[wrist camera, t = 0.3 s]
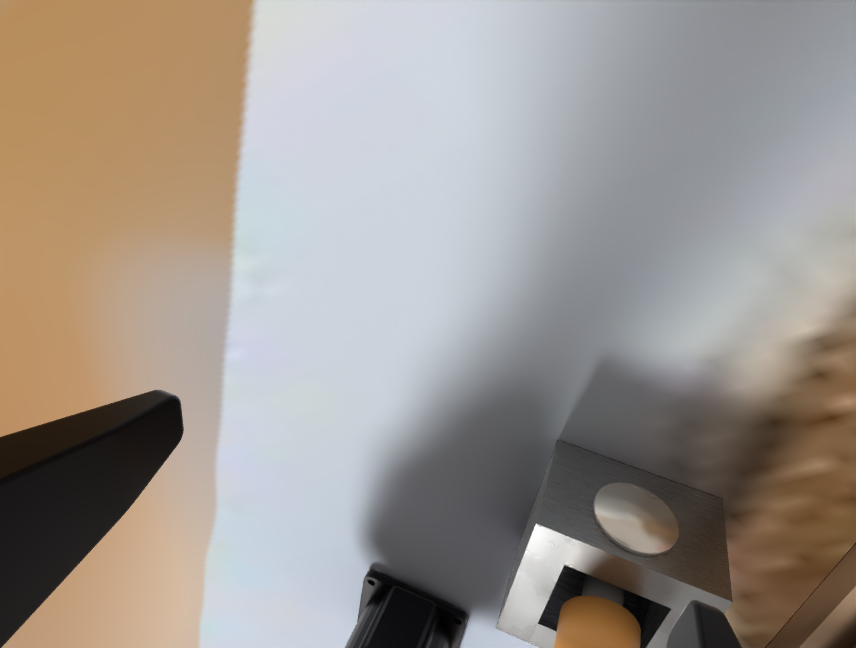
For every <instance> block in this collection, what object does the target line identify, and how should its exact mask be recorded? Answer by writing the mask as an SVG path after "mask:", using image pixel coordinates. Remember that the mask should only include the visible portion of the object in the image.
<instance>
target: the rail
mask: <svg viewBox="0 0 856 648" xmlns="http://www.w3.org/2000/svg"><path fill="white" fill-rule="evenodd" d="M855 645H856V544H855V545H854V546H853V547H852V549H851V550H850V551H849V552H848V553H847V554H846V556H845V557H844V558H843V559H842V560H841V561H840V562H839V564H838V565H837V566H836V567H835V568H834V569H833V571H832V572H831V573H830V574H829V575H828V576H827V577H826V579H825V580H824V581H823V582H822V583H821V584H820V586H819V587H818V588H817V589H816V590H815V591H814V593H813V594H812V595H811V596H810V597H809V598H808V599H807V601H806V602H805V603H804V604H803V605H802V606H801V608H800V609H799V610H798V611H797V612H796V613H795V614H794V616H793V617H792V618H791V619H790V620H789V621H788V623H787V624H786V625H785V626H784V627H783V628H782V629H781V631H780V632H779V633H778V634H777V635H776V636H775V638H774V639H773V640H772V641H771V642H770V643H769V645H768V646H767V647H766V648H853V647H854V646H855Z"/></svg>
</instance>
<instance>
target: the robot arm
mask: <svg viewBox="0 0 856 648" xmlns="http://www.w3.org/2000/svg"><path fill="white" fill-rule="evenodd" d="M183 431H184V427H183V418H182V409H181V402H180V399H179V398H178V397H177V396H175V395H173V394H170V393H168V392H165V391H162V390H154V391H150V392H147V393H144V394H140V395H137V396H134V397H130V398H127V399H124V400H121V401H117V402H114V403H111V404H108V405H104V406H101V407H98V408H94V409H91V410H88V411H84V412H81V413H78V414H75V415H71V416H68V417H65V418H61V419H58V420H55V421H52V422H48V423H45V424H42V425H38V426H35V427H32V428H29V429H26V430H22V431H19V432H16V433H12V434H9V435H5V436H2V437H0V648H2V646H3V645H4V644H5V643H6V642H7V641H8V640H9V639H10V638H11V637H12V636H13V634H14V633H15V632H16V631H17V630H18V629H19V628H20V627H21V626H22V625H23V624H24V623H25V621H26V620H27V619H28V618H29V617H30V616H31V615H32V614H33V613H34V612H35V611H36V610H37V608H38V607H39V606H40V605H41V604H42V603H43V602H44V601H45V600H46V599H47V598H48V596H49V595H50V594H51V593H52V592H53V591H54V590H55V589H56V588H57V587H58V586H59V585H60V584H61V582H62V581H63V580H64V579H65V578H66V577H67V576H68V575H69V574H70V573H71V572H72V570H73V569H74V568H75V567H76V566H77V565H78V564H79V563H80V562H81V561H82V560H83V558H84V557H85V556H86V555H87V554H88V553H89V552H90V551H91V550H92V549H93V548H94V547H95V545H96V544H97V543H98V542H99V541H100V540H101V539H102V538H103V537H104V536H105V535H106V533H107V532H108V531H109V530H110V529H111V528H112V527H113V526H114V525H115V523H117V521H119V519H120V518H121V517H122V516H123V515H124V514H125V512H126V511H127V510H128V509H129V508H130V506H131V505H132V504H133V503H134V502H135V500H136V499H137V498H138V496H139V495H140V494H141V492H142V491H143V490H144V489H145V487H146V486H147V485H148V483H149V482H150V481H151V479H152V478H153V477H154V475H155V474H156V473H157V471H158V470H159V469H160V467H161V466H162V465H163V463H164V462H165V461H166V460H167V458H168V457H169V455H170V454H171V453H172V452H173V450H174V449H175V448H176V446H177V445H178V444H179V442H180V440H181V438H182V435H183ZM467 619H468V617H467V615H466V614H465V613H464V612H463V611H461V610H459V609H457V608H454V607H452V606H450V605H448V604H445V603H443V602H441V601H439V600H436V599H434V598H432V597H430V596H427V595H425V594H423V593H421V592H418V591H416V590H414V589H412V588H409V587H407V586H405V585H403V584H400V583H398V582H396V581H394V580H391V579H389V578H387V577H385V576H382V575H380V574H378V573H376V572H373V571H369V572H367V574H366V576H365V578H364V581H363V588H362V594H361V601H360V608H359V614H358V621H357V625H356V627H355V628H354V630H353V632H352V634H351V636H350V638H349V640H348V642H347V644H346V646H345V648H458V646H459V643H460V640H461V637H462V634H463V631H464V628H465V625H466V622H467ZM666 648H742V647H741V645H740V643H739V641H738V639H737V637H736V635H735V634H734V632H733V630H732V628H731V626H730V624H729V622H728V620H727V618H726V617H725V615H724V614H723V612H722V611H721V610H719V609H717V608H715V607H713V606H710V605H708V604H705V603H703V602H700V601H697V600H692V601H690V602H689V603H688V604H687V606H686V607H685V609H684V610H683V612H682V613H681V615H680V617H679V618H678V620H677V621H676V623H675V624H674V626H673V627H672V629H671V631H670V634H669V637H668V640H667V646H666Z"/></svg>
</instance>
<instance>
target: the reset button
mask: <svg viewBox="0 0 856 648" xmlns="http://www.w3.org/2000/svg"><path fill="white" fill-rule="evenodd" d="M623 601H624V589H622V588H620V587H618V586H615V585H613V584H610V583H608V582H605V581H603V580H600V579H598V578H596V577H593V576H591V575H588V574H587V575H586V576H585V578H584V583H583V590H582V596H578V597H574V598H571V599H569V600H568V601H566V602H565V603H564V604H563V606H562V607H561V610H560V615H559V621H558V626H557V632H556V637H555V642H554V648H640V640H641V629H640V625H639V623H638V621H637V620H636V618H635V617H634V616H633V615H632V614H631V613H630V612H629V611H628V610H627V609H625V608H624V607H623Z"/></svg>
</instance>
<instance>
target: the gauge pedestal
mask: <svg viewBox="0 0 856 648" xmlns="http://www.w3.org/2000/svg"><path fill="white" fill-rule="evenodd" d="M587 574H588V575H591V576H593V577H596V578H598V579H600V580H603V581H605V582H608V583H610V584H613V585H615V586H618V587H620V588H622V589H624V601H623V607H624V608H625V609H627V610H628V611H629V612H630V613H631V614H632V615H633V616H634V617H635V618H636V620H637V621H638V623H639V625H640V629H641V640H640V648H666V646H667V640H668V637H669V634H670V631H671V629H672V627H673V626H674V624H675V623H676V621H677V620H678V618H679V617H680V615H681V613H682V612H683V610H684V609H685V607H686V606H687V604H688V603H689V602H690V601H692V600H697V601H700V602H703V603H705V604H708V605H710V606H713V607H715V608H717V609H719V610H721V611H722V612H723V614H724V613H725V611H726V610H727V609H728V607H729V606H730V605H731V603H732V602H733V601H732V591H731V582H730V572H729V562H728V552H727V542H726V532H725V522H724V512H723V502H722V499H720V498H717V497H715V496H712V495H709V494H706V493H704V492H701V491H698V490H695V489H693V488H690V487H687V486H684V485H681V484H679V483H676V482H673V481H670V480H668V479H665V478H662V477H659V476H657V475H654V474H651V473H648V472H645V471H643V470H640V469H637V468H634V467H632V466H629V465H626V464H623V463H621V462H618V461H615V460H612V459H609V458H607V457H604V456H601V455H598V454H596V453H593V452H590V451H587V450H584V449H582V448H579V447H576V446H573V445H571V444H568V443H565V442H562V441H560V440H558V441H557V443H556V446H555V449H554V451H553V454H552V457H551V460H550V462H549V465H548V468H547V470H546V473H545V476H544V478H543V481H542V484H541V486H540V489H539V492H538V495H537V497H536V500H535V503H534V505H533V508H532V511H531V513H530V516H529V519H528V521H527V524H526V527H525V529H524V532H523V535H522V538H521V540H520V544H519V547H518V551H517V554H516V558H515V562H514V565H513V569H512V572H511V576H510V579H509V583H508V586H507V590H506V594H505V597H504V601H503V604H502V608H501V611H500V615H499V618H498V622H497V625H496V628H497V629H499V630H501V631H503V632H506V633H508V634H510V635H512V636H515V637H517V638H519V639H521V640H524V641H526V642H528V643H530V644H533V645H535V646H537V647H539V648H554V642H555V637H556V632H557V626H558V621H559V615H560V610H561V607H562V606H563V604H564V603H565V602H566V601H568V600H569V599H571V598H574V597H578V596H582V590H583V583H584V578H585V576H586V575H587Z"/></svg>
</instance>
